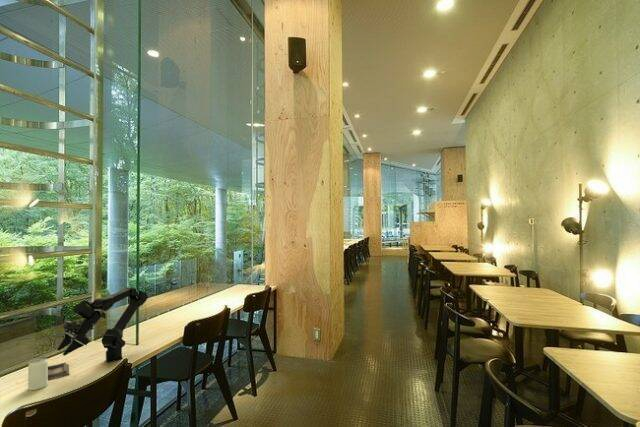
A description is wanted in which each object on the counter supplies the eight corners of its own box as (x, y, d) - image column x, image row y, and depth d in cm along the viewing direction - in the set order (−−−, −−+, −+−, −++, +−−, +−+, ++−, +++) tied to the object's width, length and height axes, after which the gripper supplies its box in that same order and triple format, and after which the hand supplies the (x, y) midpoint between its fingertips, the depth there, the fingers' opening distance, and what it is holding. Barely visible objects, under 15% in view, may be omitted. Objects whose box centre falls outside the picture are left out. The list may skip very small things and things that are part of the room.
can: (45, 381, 147) (45, 355, 147) (49, 386, 143) (49, 358, 143) (26, 387, 142) (27, 360, 142) (29, 392, 138) (29, 364, 138)
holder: (68, 364, 164) (68, 361, 164) (69, 374, 153) (69, 370, 153) (31, 373, 155) (31, 369, 155) (29, 384, 144) (29, 380, 144)
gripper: (69, 310, 159) (39, 339, 150) (80, 316, 147) (49, 349, 138) (88, 322, 165) (61, 350, 156) (100, 329, 153) (72, 361, 144)
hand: (60, 352), depth 149 cm, fingers open, 9 cm apart
